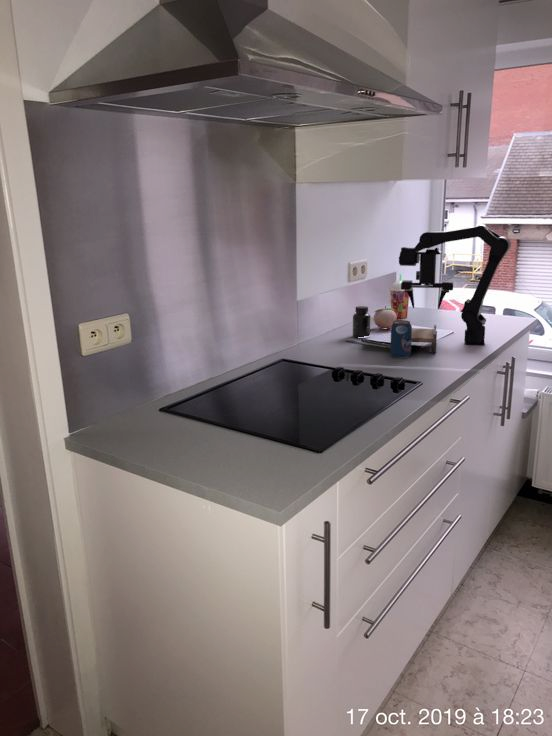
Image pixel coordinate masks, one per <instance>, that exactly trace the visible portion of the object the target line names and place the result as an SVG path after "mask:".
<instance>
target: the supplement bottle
mask: <svg viewBox="0 0 552 736" xmlns="http://www.w3.org/2000/svg"><path fill="white" fill-rule="evenodd" d="M369 335H370V336H371V315H370V314H369V307H368V306H365V305H358V306H355V313H353V315H352V337H353V338H354V339H357V338H358V337H364V336H369Z"/></svg>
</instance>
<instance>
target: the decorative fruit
mask: <svg viewBox="0 0 552 736" xmlns="http://www.w3.org/2000/svg"><path fill="white" fill-rule="evenodd" d="M393 310H394V309H392V308H391V307H388V308H387V306H386V305H385V307H384V308H377V309H375V311H374V312H373V313H374V315H373V321H374V323H375V324H374V325H376V326H377V327H378V328H379V329H381V328H388V329H391V326H392V324H393V321H397V319H396V318H397V316H396V314H395V312H394V311H395V310H394V311H393Z"/></svg>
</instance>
